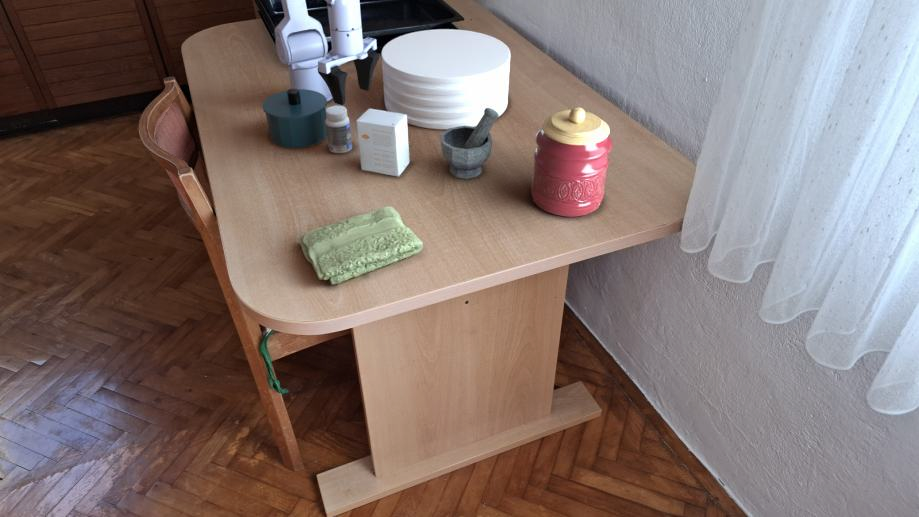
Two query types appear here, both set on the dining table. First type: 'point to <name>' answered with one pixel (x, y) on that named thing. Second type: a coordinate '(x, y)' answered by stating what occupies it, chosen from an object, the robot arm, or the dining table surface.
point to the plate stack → (445, 77)
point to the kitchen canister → (571, 163)
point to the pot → (298, 130)
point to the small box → (383, 142)
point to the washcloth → (359, 245)
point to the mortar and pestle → (468, 146)
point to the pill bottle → (338, 129)
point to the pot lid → (294, 104)
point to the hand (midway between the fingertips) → (352, 96)
